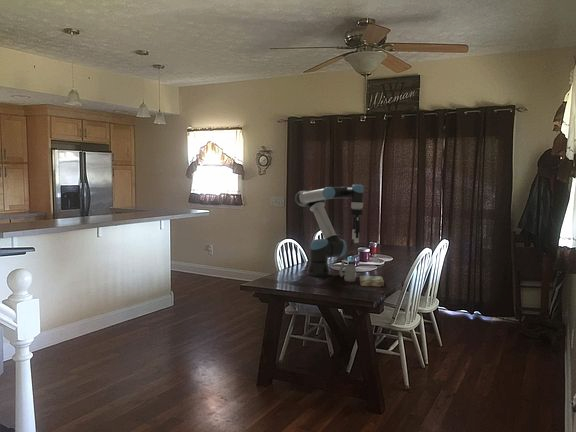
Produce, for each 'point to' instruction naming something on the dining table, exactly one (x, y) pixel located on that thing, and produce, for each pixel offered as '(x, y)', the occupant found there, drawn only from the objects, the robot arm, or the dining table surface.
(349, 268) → the mug
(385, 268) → the dining table surface
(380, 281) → the stand
